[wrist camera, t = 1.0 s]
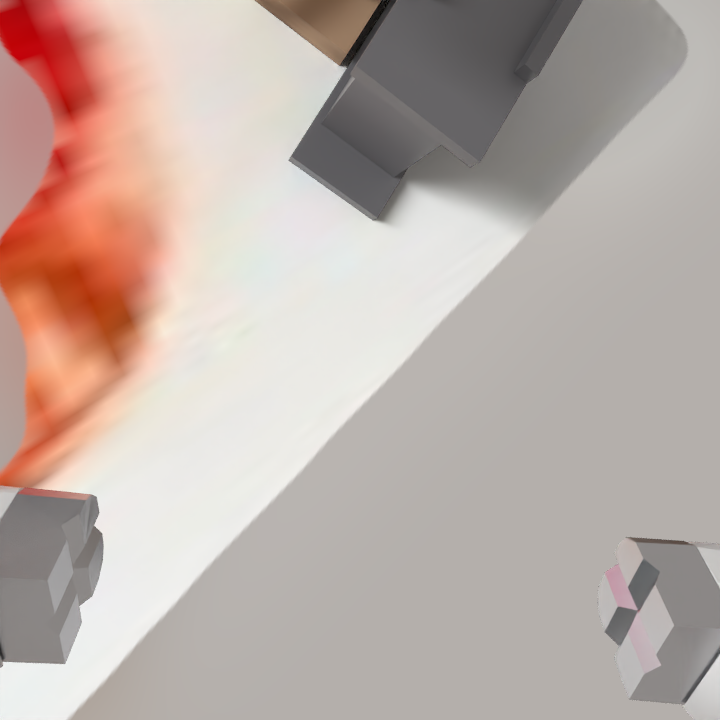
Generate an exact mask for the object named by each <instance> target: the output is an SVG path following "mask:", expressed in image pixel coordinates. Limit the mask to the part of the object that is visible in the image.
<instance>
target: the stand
mask: <svg viewBox="0 0 720 720" xmlns="http://www.w3.org/2000/svg"><path fill="white" fill-rule="evenodd" d="M255 1H256V2H258V3H259V4H260V5H262V6H263V7H264V8H265V9H267V10H268V11H269V12H271V13H272V14H273V15H274V16H276V17H277V18H278V19H280V20H281V21H282V22H284V23H285V24H286V25H287V26H289V27H290V28H291V29H293V30H294V31H295V32H297V33H298V34H299V35H300V36H302V37H303V38H304V39H306V40H307V41H308V42H309V43H311V44H312V45H313V46H315V47H316V48H317V49H319V50H320V51H321V52H322V53H324V54H325V55H326V56H328V57H329V58H330V59H331V60H333V61H334V62H335V63H337V64H338V65H339V66H340V64H341V63H342V61H343V60H344V58H345V57H346V55H347V54H348V52H349V50H350V49H351V47H352V46H353V44H354V43H355V41H356V39H357V38H358V36H359V35H360V33H361V32H362V30H363V28H364V27H365V25H366V24H367V22H368V21H369V19H370V17H371V16H372V14H373V13H374V11H375V10H376V8H377V6H378V5H379V3H380V2H381V0H255Z"/></svg>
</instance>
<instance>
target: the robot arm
mask: <svg viewBox="0 0 720 720" xmlns="http://www.w3.org/2000/svg"><path fill="white" fill-rule="evenodd" d="M98 515H99V508H98V502H97V497H96V496H94V495H91V494H81V493H72V492H62V491H53V490H43V489H34V488H18V487H9V486H0V668H1V667H2V666H3V662H25V663H54V664H65V663H66V660H67V658H68V655H69V653H70V651H71V648H72V646H73V643H74V641H75V638H76V636H77V633H78V631H79V628H80V626H81V623H82V621H81V614H80V608H79V606H80V605H81V604H83V603H84V602H85V601H86V600H88V599H89V598H90V597H92V595H93V593H94V590H95V587H96V585H97V582H98V579H99V575H100V570H101V566H102V561H103V537H102V533H101V532H100V531H99V530H98V529H97V528H96V527H95V526H94V524H95V522H96V519H97V517H98ZM614 555H615V557H616V560H617V562H618V564H617V565H615V566H614V567H612V568H610V569H609V570H607V571H606V572H605V573H604V575H603V577H602V580H601V582H600V585H599V590H598V609H599V616H600V620H601V623H602V626H603V628H604V631H605V633H606V634H607V635H608V636H609V637H610V638H611V639H613V641H615V642H616V643H617V644H618V645H619V647H618V650H617V652H616V655H615V657H614V660H615V662H616V665H617V668H618V671H619V673H620V676H621V679H622V682H623V684H624V687H625V690H626V693H627V695H628V698H629V699H630V700H640V701H651V702H661V703H672V704H684V706H683V708H684V709H685V710H686V712H687V713H688V714H689V715H690V716H691V717H692V718H693V719H694V720H720V544H714V543H700V542H685V541H675V540H661V539H647V538H632V537H626V538H625V539H623V540H622V541H620V542H619V544H618V546H617V548H616V550H615V552H614Z"/></svg>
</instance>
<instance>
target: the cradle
mask: <svg viewBox="0 0 720 720" xmlns="http://www.w3.org/2000/svg"><path fill="white" fill-rule="evenodd" d="M581 2H582V0H390V1H389V3H388V4H387V6H386V7H385V9H384V11H383V12H382V14H381V15H380V17H379V18H378V20H377V22H376V23H375V25H374V26H373V28H372V30H371V31H370V33H369V34H368V36H367V37H366V39H365V41H364V42H363V44H362V45H361V47H360V48H359V50H358V52H357V53H356V55H355V56H354V58H353V59H352V61H351V63H350V64H349V66H348V67H347V69H346V71H345V72H344V74H343V75H342V77H341V78H340V80H339V82H338V83H337V85H336V86H335V88H334V89H333V91H332V93H331V94H330V96H329V97H328V99H327V100H326V102H325V104H324V105H323V107H322V108H321V110H320V112H319V113H318V115H317V116H316V118H315V119H314V121H313V123H312V124H311V126H310V127H309V129H308V130H307V132H306V134H305V135H304V137H303V138H302V140H301V141H300V143H299V145H298V146H297V148H296V149H295V151H294V152H293V154H292V156H291V157H290V159H289V161H290V162H292V163H293V164H294V165H296V166H297V167H299V168H300V169H301V170H303V171H304V172H306V173H307V174H308V175H310V176H311V177H313V178H314V179H315V180H317V181H318V182H320V183H321V184H323V185H324V186H325V187H327V188H328V189H330V190H331V191H332V192H334V193H335V194H337V195H338V196H339V197H341V198H342V199H344V200H345V201H346V202H348V203H349V204H351V205H352V206H354V207H355V208H356V209H358V210H359V211H361V212H362V213H363V214H365V215H366V216H368V217H369V218H370V219H372V220H375V219H376V218H378V216H379V215H380V213H381V211H382V210H383V208H384V206H385V205H386V203H387V201H388V200H389V198H390V197H391V195H392V193H393V192H394V190H395V188H396V187H397V185H398V183H399V182H400V180H401V178H402V177H403V175H404V174H405V172H406V170H407V169H408V167H410V166H411V165H413V164H414V163H416V162H417V161H419V160H420V159H421V158H423V157H424V156H426V155H427V154H429V153H430V152H432V151H433V150H435V149H436V148H438V147H439V146H440V145H442V146H443V147H445V148H446V149H447V150H448V151H450V152H451V153H452V154H454V155H455V156H456V157H457V158H459V159H460V160H461V161H463V162H464V163H465V164H467V165H468V166H469V167H472V166H474V165H476V164H477V163H479V162H480V161H481V159H482V158H483V156H484V154H485V153H486V151H487V149H488V148H489V146H490V144H491V143H492V141H493V139H494V138H495V136H496V134H497V132H498V131H499V129H500V127H501V126H502V124H503V122H504V121H505V119H506V117H507V116H508V114H509V112H510V111H511V109H512V107H513V106H514V104H515V102H516V100H517V99H518V97H519V95H520V94H521V92H522V90H523V89H524V87H525V85H526V84H527V83H528V82H529V81H531V80H532V79H534V78H535V77H537V76H538V75H539V73H540V71H541V70H542V68H543V66H544V65H545V63H546V61H547V60H548V58H549V56H550V55H551V53H552V51H553V49H554V48H555V46H556V44H557V43H558V41H559V39H560V38H561V36H562V34H563V33H564V31H565V29H566V28H567V26H568V24H569V22H570V21H571V19H572V17H573V16H574V14H575V12H576V11H577V9H578V7H579V6H580V4H581Z"/></svg>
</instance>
